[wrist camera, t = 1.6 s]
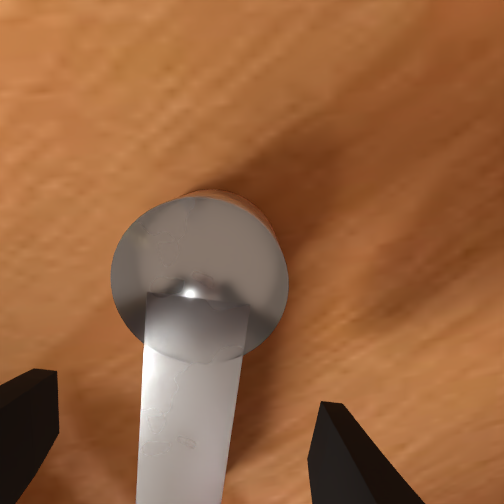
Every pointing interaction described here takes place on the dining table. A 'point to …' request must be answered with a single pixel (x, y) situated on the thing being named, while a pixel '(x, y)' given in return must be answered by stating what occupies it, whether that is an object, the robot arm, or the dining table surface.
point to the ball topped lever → (195, 331)
